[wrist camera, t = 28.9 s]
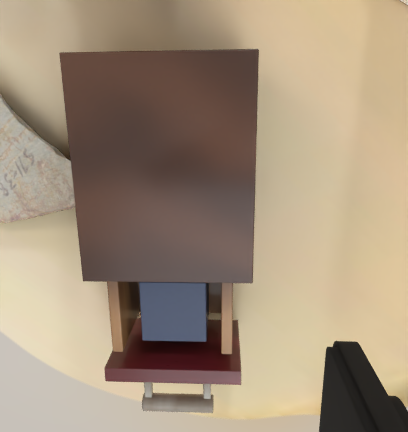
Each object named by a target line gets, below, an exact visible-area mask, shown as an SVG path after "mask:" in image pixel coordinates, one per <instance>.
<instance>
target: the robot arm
mask: <svg viewBox="0 0 408 432" xmlns="http://www.w3.org/2000/svg"><path fill="white" fill-rule="evenodd" d="M400 1H401V2H403V3H405V4H407V5H408V0H400ZM319 432H408V411H407V409H406V407H405V406H404V404H403V403H402V401H401V400H400V399H399V398H398V397H396V396H388V394H387V393H386V391H385V389H384V387H383V385H382V384H381V382H380V380H379V378H378V377H377V375H376V373H375V371H374V370H373V368H372V366H371V364H370V363H369V361H368V359H367V357H366V355H365V354H364V352H363V350H362V348H361V347H360V345H359V343H358V342H344V341H335V342H334V344H333V347H327V349H326V357H325V369H324V380H323V392H322V403H321V415H320V427H319Z"/></svg>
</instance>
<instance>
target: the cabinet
mask: <svg viewBox="0 0 408 432" xmlns="http://www.w3.org/2000/svg"><path fill="white" fill-rule="evenodd" d="M258 57H259V50H258V49H233V50H177V51H121V52H65V53H60V63H61V72H62V82H63V92H64V101H65V111H66V120H67V130H68V140H69V149H70V159H71V169H72V178H73V188H74V198H75V207H76V217H77V227H78V236H79V246H80V256H81V265H82V275H83V281H112V282H192V283H252V282H253V249H254V210H255V172H256V134H257V95H258Z"/></svg>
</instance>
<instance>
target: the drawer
mask: <svg viewBox="0 0 408 432" xmlns="http://www.w3.org/2000/svg"><path fill="white" fill-rule="evenodd" d="M107 286H108V298H109V310H110V321H111V333H112V345H113V351H112V353H111V355H110V357H109V360H108V362H107V364H106V366H105V379H106V381H116V382H144V388H145V393H144V395H143V400H142V409H143V411H167V412H201V413H213V395H211V384H232V385H241V360H240V344H239V329H238V320H232V310H233V283H209V313H221V320H208V328H207V341H206V342H191V341H143V340H142V326H141V318H137V316H138V314H139V311H141V310H140V293H139V282H112V281H107ZM152 382H155V383H194V384H203V389H204V394H168V393H153V384H152Z"/></svg>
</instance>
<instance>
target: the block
mask: <svg viewBox="0 0 408 432" xmlns="http://www.w3.org/2000/svg"><path fill="white" fill-rule="evenodd" d="M139 293H140V310H141V326H142V340H143V341H191V342H206V341H207V328H208V315H209V283H192V282H139Z"/></svg>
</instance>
